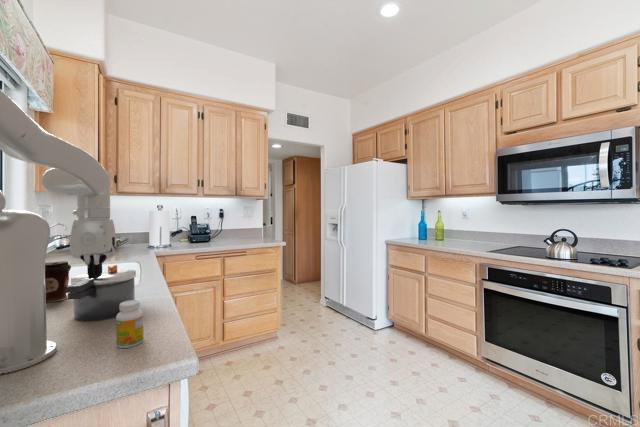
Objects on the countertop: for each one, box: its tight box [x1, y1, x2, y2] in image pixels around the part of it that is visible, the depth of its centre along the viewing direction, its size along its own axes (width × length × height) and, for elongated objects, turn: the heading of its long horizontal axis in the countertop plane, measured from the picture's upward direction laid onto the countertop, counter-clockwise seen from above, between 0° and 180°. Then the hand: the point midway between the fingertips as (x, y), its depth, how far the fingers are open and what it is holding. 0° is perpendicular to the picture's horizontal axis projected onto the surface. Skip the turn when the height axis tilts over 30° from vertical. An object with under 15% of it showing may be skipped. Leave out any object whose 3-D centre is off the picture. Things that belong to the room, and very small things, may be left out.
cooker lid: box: [66, 264, 137, 294], centre depth 86 cm, size 22×16×3 cm
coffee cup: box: [45, 260, 72, 303], centre depth 100 cm, size 9×8×13 cm
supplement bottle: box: [115, 299, 144, 349], centre depth 69 cm, size 5×5×10 cm
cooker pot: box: [67, 277, 136, 322], centre depth 87 cm, size 23×15×10 cm, turn 7°
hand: (95, 277), depth 85 cm, fingers closed
